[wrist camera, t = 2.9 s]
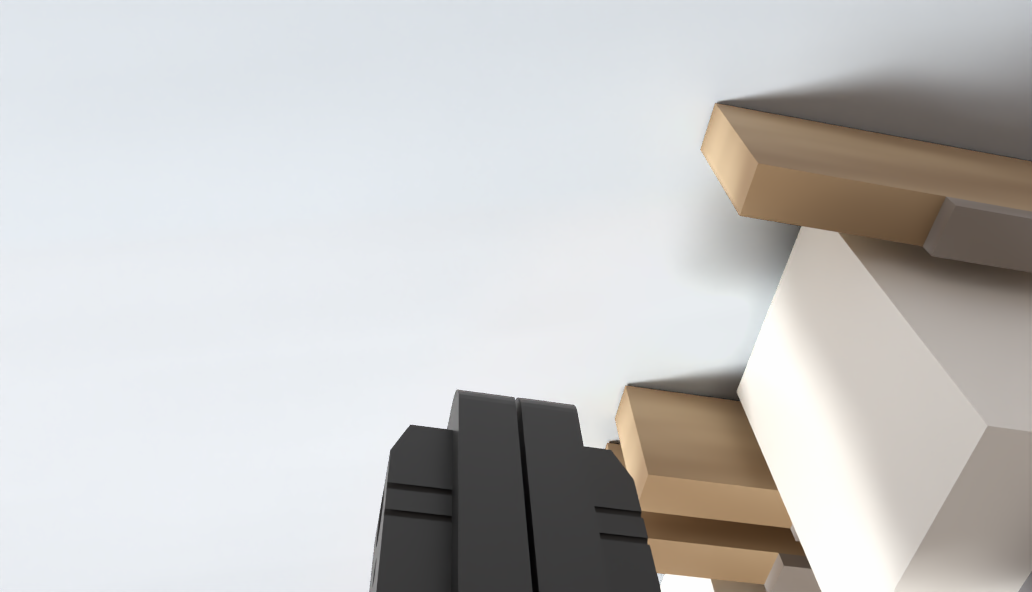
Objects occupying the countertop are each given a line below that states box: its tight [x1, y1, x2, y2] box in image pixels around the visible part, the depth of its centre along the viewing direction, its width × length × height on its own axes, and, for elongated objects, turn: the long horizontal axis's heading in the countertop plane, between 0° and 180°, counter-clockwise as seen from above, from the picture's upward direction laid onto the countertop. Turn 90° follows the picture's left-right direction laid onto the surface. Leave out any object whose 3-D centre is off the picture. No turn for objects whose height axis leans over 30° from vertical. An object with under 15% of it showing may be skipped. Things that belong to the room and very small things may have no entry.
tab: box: [737, 226, 1032, 592], centre depth 14 cm, size 4×4×7 cm
